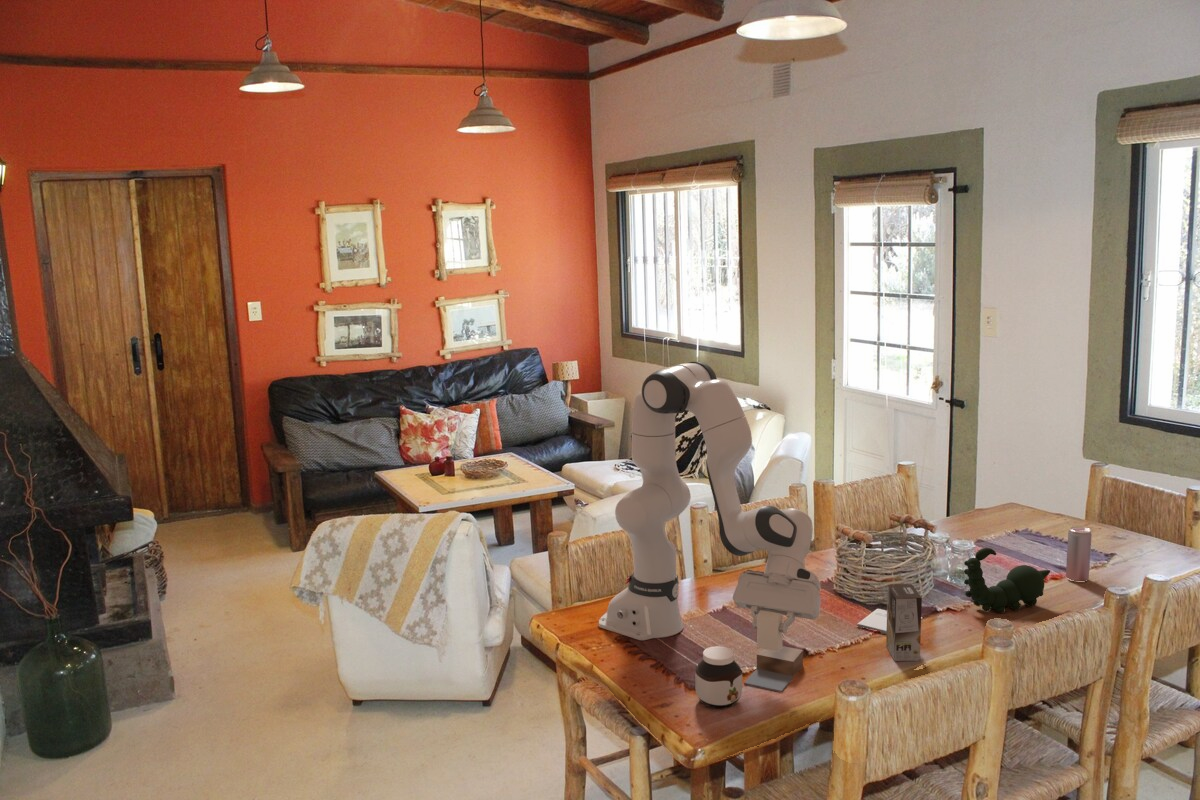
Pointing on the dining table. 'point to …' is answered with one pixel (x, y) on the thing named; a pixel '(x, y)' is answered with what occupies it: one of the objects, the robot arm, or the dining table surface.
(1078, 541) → the beverage can
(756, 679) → the mat
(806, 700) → the dining table surface
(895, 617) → the coffee box
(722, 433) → the robot arm
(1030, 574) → the toy figurine
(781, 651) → the deck
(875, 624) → the external hard drive
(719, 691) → the spread jar
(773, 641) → the block
